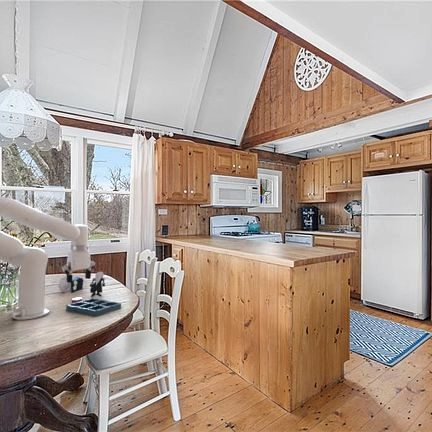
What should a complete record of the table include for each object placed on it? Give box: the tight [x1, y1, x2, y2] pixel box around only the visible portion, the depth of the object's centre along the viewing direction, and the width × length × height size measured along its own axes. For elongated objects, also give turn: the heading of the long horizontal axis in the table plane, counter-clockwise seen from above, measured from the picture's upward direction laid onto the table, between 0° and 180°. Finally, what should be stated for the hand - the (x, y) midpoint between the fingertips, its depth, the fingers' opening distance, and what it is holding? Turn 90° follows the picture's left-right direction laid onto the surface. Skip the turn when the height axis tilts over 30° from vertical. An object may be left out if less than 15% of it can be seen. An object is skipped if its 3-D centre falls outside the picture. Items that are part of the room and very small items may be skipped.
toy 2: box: [89, 271, 107, 298], centre depth 181 cm, size 8×20×15 cm
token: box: [71, 297, 83, 304], centre depth 159 cm, size 5×5×3 cm
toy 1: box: [57, 276, 84, 294], centre depth 185 cm, size 9×11×15 cm
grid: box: [65, 297, 122, 318], centre depth 152 cm, size 14×20×3 cm
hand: (79, 280), depth 160 cm, fingers open, 9 cm apart
